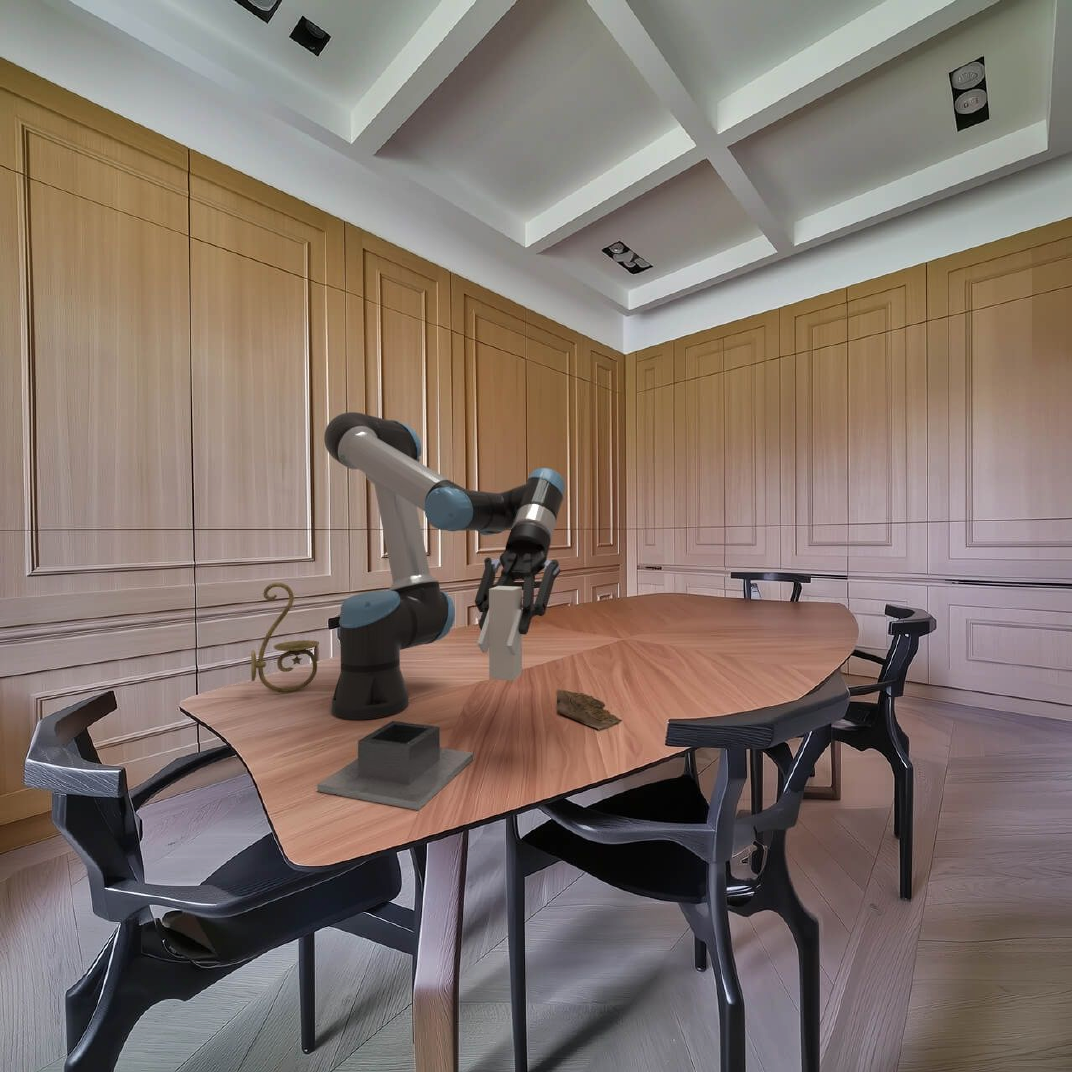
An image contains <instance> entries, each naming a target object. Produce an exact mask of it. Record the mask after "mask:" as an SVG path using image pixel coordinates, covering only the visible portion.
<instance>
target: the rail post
mask: <svg viewBox="0 0 1072 1072" xmlns="http://www.w3.org/2000/svg"><path fill="white" fill-rule="evenodd" d="M521 604H522V605H523V586H513V585H511V586H497V587H494V586H493V587H492V588H491V589H489V648H488V653H489V655H488V669H489V671H488V673H489V674H488V677H489V679H490V680H500V681H510V682H514V681H515V680H516V679H518V678H519V677H520V676H521V675H523V634H522V635H521V638H520V642H519V646H518V649H517V653H516V656H515V655H511V654H510V652H509V650H508V648H507V643H508V639H509V636H510V632H511V629H512V625H513V623H514V619H515V616H516V612H517V609H519V610H522V611H523V608H522V605H521Z"/></svg>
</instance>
